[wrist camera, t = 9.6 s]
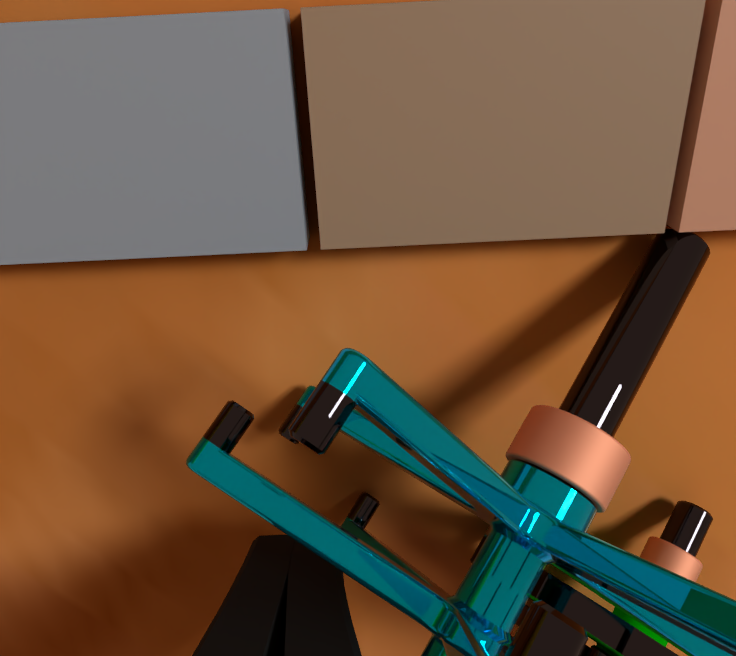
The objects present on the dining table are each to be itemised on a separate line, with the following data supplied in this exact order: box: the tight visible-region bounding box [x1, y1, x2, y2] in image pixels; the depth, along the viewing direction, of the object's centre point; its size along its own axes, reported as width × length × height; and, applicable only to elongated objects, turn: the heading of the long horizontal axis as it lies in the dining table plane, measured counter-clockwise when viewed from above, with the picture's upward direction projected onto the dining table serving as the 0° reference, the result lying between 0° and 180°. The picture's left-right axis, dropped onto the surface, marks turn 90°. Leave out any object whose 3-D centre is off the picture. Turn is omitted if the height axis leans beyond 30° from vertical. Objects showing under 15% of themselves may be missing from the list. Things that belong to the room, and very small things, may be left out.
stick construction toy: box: [186, 229, 736, 656], centre depth 9 cm, size 12×7×8 cm
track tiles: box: [0, 0, 736, 265], centre depth 8 cm, size 3×15×1 cm, turn 93°
